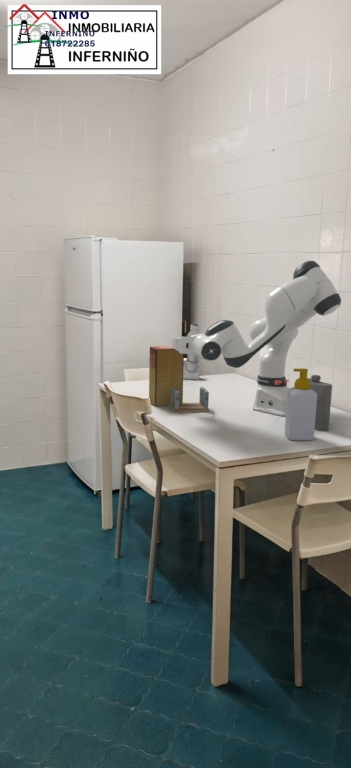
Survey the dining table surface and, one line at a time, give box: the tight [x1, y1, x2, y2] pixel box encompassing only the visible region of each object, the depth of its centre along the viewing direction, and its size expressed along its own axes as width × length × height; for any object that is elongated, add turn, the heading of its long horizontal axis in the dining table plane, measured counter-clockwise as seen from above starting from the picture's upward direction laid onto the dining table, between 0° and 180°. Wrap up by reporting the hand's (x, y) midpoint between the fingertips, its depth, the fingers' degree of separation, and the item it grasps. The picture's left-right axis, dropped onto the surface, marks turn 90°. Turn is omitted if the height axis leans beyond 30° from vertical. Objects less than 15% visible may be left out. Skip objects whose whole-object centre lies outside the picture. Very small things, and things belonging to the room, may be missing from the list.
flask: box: [307, 374, 333, 432], centre depth 220 cm, size 15×6×20 cm, turn 25°
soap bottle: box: [284, 368, 317, 442], centre depth 204 cm, size 9×9×25 cm
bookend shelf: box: [169, 386, 210, 413], centre depth 242 cm, size 10×14×8 cm
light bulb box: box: [183, 357, 201, 381], centre depth 310 cm, size 11×7×11 cm, turn 84°
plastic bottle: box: [185, 323, 202, 373], centre depth 233 cm, size 6×7×20 cm
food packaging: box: [148, 345, 185, 407], centre depth 250 cm, size 13×9×25 cm
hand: (193, 340), depth 233 cm, fingers closed on plastic bottle, 6 cm apart
